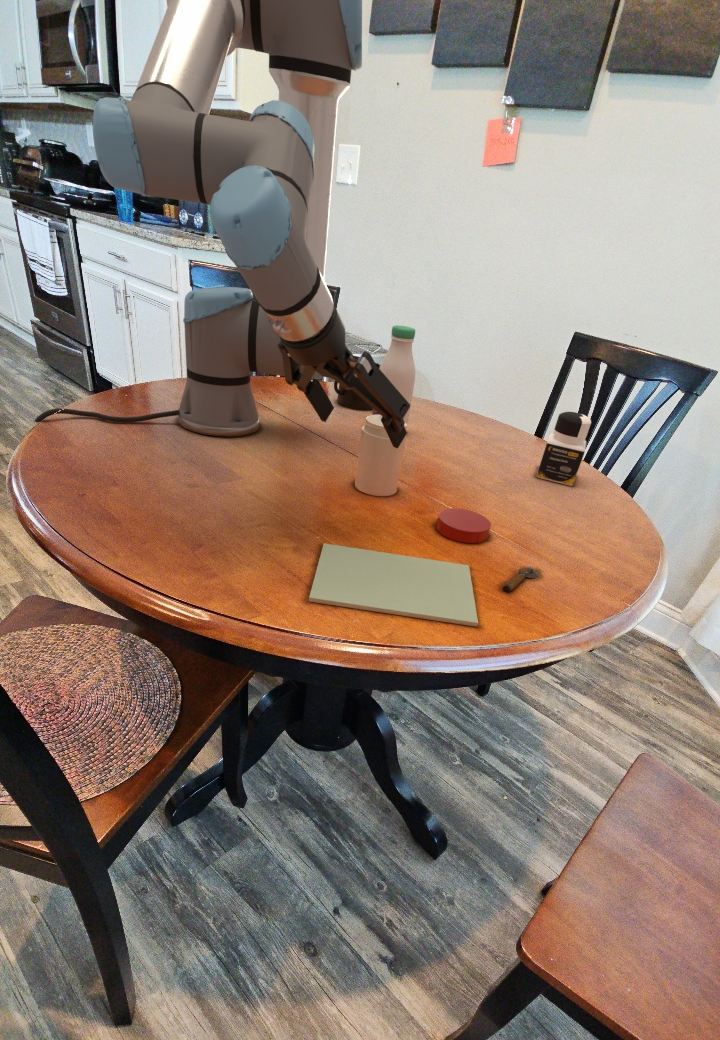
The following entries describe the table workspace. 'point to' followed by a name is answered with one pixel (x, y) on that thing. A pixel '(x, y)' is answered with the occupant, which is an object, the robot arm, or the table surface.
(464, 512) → the lid
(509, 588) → the can opener
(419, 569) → the mat
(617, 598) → the table surface
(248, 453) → the table surface
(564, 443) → the medicine bottle
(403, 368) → the milk bottle
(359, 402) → the mug
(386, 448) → the jar
